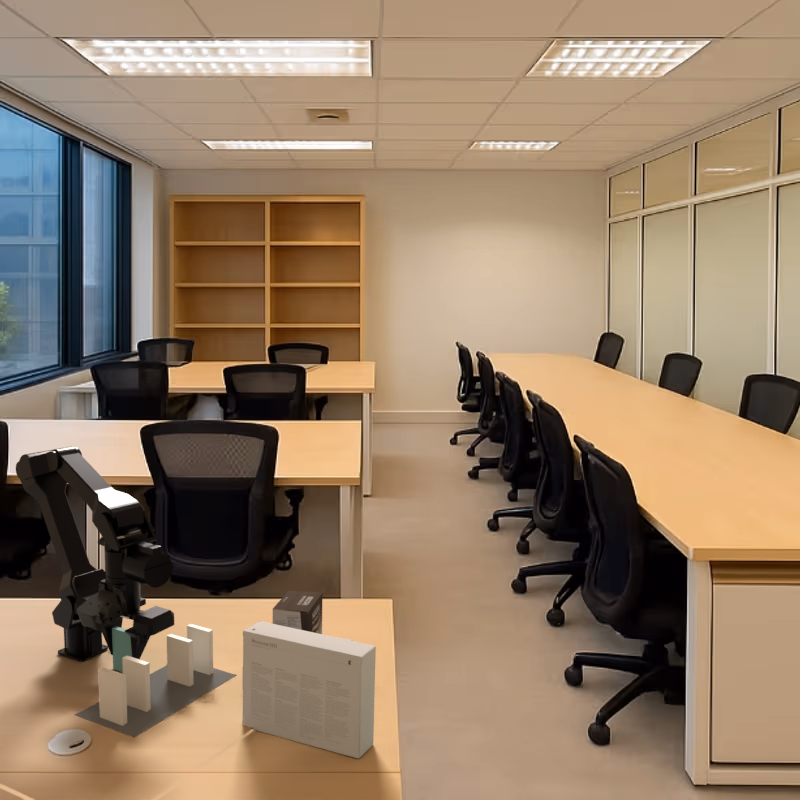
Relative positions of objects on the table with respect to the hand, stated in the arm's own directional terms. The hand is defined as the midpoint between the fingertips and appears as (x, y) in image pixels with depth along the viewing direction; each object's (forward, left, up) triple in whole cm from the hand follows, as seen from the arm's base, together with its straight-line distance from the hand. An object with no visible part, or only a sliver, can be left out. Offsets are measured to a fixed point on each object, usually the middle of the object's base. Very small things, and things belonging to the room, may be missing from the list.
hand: (125, 658), depth 156 cm
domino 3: (+11, +2, -2) cm, 11 cm away
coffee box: (+29, +11, -3) cm, 31 cm away
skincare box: (+39, 0, -3) cm, 39 cm away
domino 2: (+11, -8, -2) cm, 14 cm away
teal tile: (0, 0, -3) cm, 3 cm away
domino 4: (+11, +7, -2) cm, 13 cm away
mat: (+11, -3, -3) cm, 12 cm away
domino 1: (+11, -13, -2) cm, 17 cm away
